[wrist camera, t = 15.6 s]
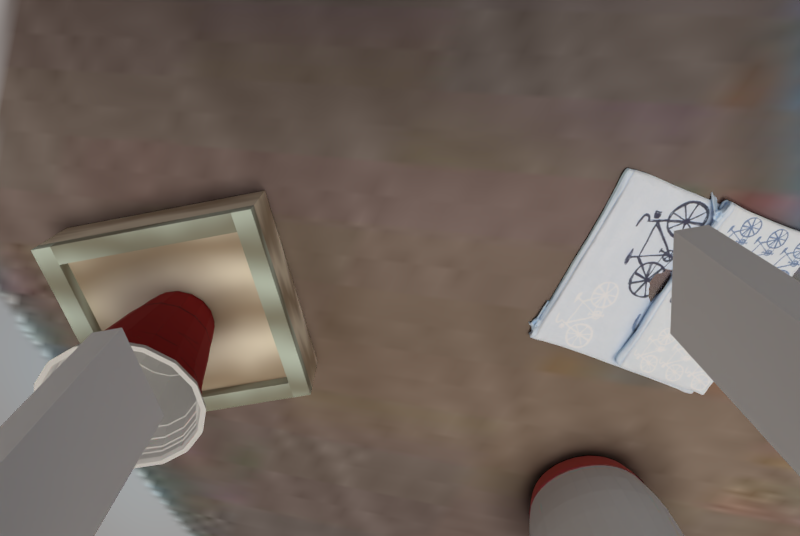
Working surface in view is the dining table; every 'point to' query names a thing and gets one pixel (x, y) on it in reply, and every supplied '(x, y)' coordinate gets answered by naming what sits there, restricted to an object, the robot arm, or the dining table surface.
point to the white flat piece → (646, 277)
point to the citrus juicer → (596, 502)
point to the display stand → (194, 289)
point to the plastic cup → (167, 367)
